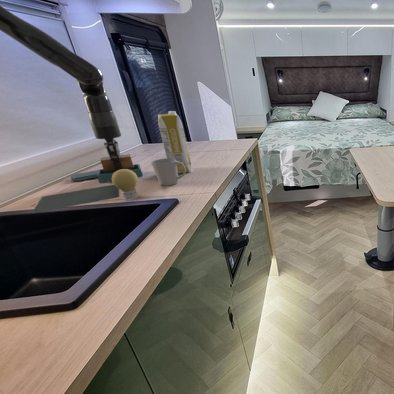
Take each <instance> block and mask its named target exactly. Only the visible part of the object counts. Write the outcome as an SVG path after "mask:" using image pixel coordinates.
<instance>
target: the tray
mask: <svg viewBox="0 0 394 394" xmlns="http://www.w3.org/2000/svg"><path fill="white" fill-rule="evenodd" d="M133 166H134V169H132V170H131V171H133V172H134V173H135V174H136V175H137V177H138V178H139V177H143V172H142V168H141V165H140V163H135V164H133ZM97 170H98V173H97V177H96V178H97V180H98V183H99V184H104V183H110V182H112V175H113V173H114V172H112V173H105V172H104V169H103V168H100V169H97Z"/></svg>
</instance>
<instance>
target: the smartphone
mask: <svg viewBox="0 0 394 394" xmlns="http://www.w3.org/2000/svg"><path fill="white" fill-rule="evenodd" d="M98 170H99V169H97V170H91V171H85V172H80V173H74V174H71V175H70V181H71V182H74V183H75V182H79V181H86V180H90V179H95V178H96V179H97V178H98V177H97V173H98Z"/></svg>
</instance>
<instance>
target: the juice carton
mask: <svg viewBox="0 0 394 394" xmlns="http://www.w3.org/2000/svg"><path fill="white" fill-rule="evenodd" d="M157 124H158V128H159V132H160V136H161V140H162V144H163V148H164V152H165V156H166V158H173V159H176V161H179V162H182V163H183V164H184V166H185V169H186V172H185V174H186V173H191V171H192V162H191V157H190V153H189V148H188V143H187V138H186V135H185V130H184V125H183V121H182V120H181V117H180V116H179V114H177V111H174V110H169V111H168V113H161V114H158V115H157ZM177 173H178V175H179V174H180V175H181V174H183V173H184V168H183V166H182V165H181V164H177Z"/></svg>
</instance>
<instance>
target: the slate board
mask: <svg viewBox="0 0 394 394" xmlns="http://www.w3.org/2000/svg"><path fill="white" fill-rule="evenodd" d="M116 198H120V189H119V188H117V187H116V186H115V185H114V184H109V185H104V186H98V187H97V186H96V187H92V188H86V189H79V190H74V191H73V190H72V191H68V192H67V191H66V192H62V193H56V194H49V195H44V196H41V198H40V199H39V201H38V202H37V204H36V205H35V207H34V209H33V211H32V212H31V214H36V213H37V214H38V213H42V212H48V211H53V210H57V209H58V208H59V209H63V208H68V207H73V206H79V205H80V206H81V205H85V204H90V203H95V202H100V201H106V200H111V199H116Z"/></svg>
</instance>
